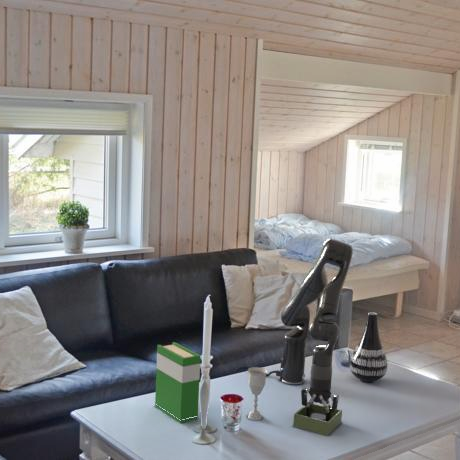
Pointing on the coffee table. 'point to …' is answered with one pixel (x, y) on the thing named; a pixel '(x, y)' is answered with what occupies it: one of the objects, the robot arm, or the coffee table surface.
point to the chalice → (256, 388)
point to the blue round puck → (318, 416)
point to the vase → (369, 354)
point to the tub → (317, 420)
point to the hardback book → (177, 381)
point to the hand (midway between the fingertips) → (318, 419)
